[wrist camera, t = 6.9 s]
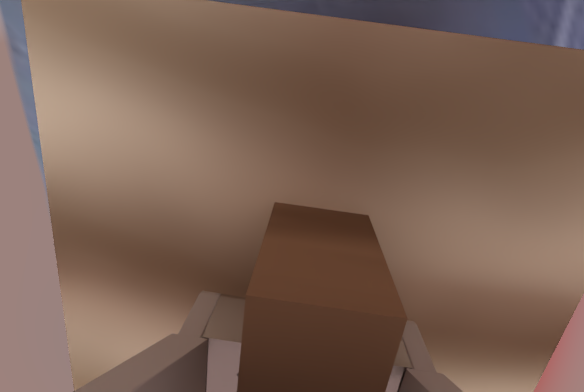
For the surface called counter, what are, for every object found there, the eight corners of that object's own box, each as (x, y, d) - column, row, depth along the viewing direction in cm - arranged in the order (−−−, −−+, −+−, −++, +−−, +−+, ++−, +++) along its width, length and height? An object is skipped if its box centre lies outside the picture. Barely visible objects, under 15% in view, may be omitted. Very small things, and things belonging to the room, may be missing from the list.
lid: (50, -14, 8) (-281, -123, 4) (656, 66, 8) (1117, 56, 3) (96, 411, 14) (-18, 588, 9) (467, 468, 13) (549, 680, 9)
